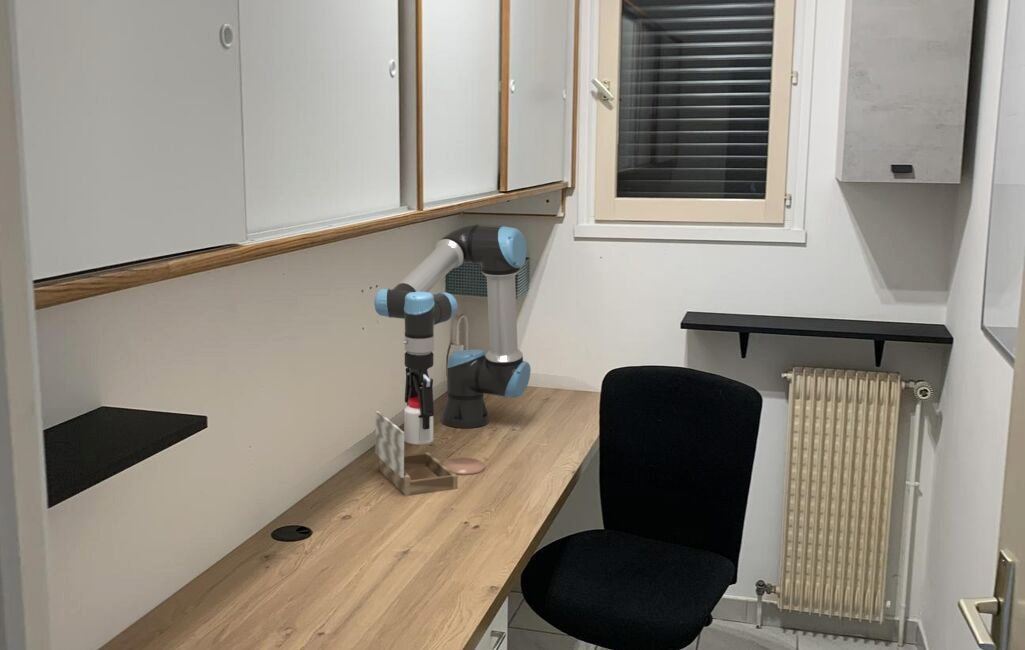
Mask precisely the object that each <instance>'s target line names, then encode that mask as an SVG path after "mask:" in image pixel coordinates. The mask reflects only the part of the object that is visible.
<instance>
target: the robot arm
mask: <svg viewBox="0 0 1025 650" xmlns="http://www.w3.org/2000/svg"><path fill="white" fill-rule="evenodd" d="M527 248H528V246H527V242H526V239H525V237H524V234H523V233H522V232H521V231H520V230H519V229H518V228H515V227H510V226H509V227H508V226H506V225H505V226H504V225H503V226H502V225H485V224H468V225H464V226H461V227H459V228H456V229H454V230H452V231H451V232H449V233H447V234H445V235H444V236H443V237H442V238H440V239H439V240H438V242H436V244H435V246H434V250H433V251H432V252H431V253H430V254H429V255H427V256H426V257H425V258H424V259H423V260H422V261H421V262H420V263H419V264H418V265H417V266H416V267H415V268H414V269H413V270H411V271H410V272H409V273H408V274H407V275H406V276H405V277H404V278H403V279H402V280H400V282H398V283H397V285H396V286H395V287H394V288H393V289H392V288H382V289H379V290H378V291H377V293H376V294H375V296H374V300H373V301H374V309H375V312H376V313H377V314H378V315H379V316H382V317H388V318H390V319H392V318H393V319H394V318H396V319H402V320H404V340H403V342H402V343H403V344H404V351H406V352H404V366H405V367H406V368H405V389H404V403H405V404H406V407H407V406H408V405H409V399H410V398H414V397H418V398H419V405H420V412H421V415H420V416H418V417H419V440H420V441H425V440H430V417H431V416H435V413H434V412H435V410H434V392H433V388H434V387H433V385H434V379H433V378H430V376H429V373H428V372H429V371H428V370H429V369H431V368H433V366H434V356H435V355H434V353H433V352H434V348H435V346H434V345H435V336H434V331H435V330H434V328H435V326H436V325H438V324H441V323H445V322H447V321H449V320H450V319H453V317H455V316H456V315H457V312H458V308H459V307H458V302H457V299H456V298H455V297H454V295H452V293H449V292H438V293H435V294H433V293H431V292H430V291H431V290H432V289H433V288H434V287H435V286H437V284H439V282H441V280H442V279H444V277H445V276H446V275H447V274H449V272H451V271H452V270H453V269H457V268H459V267H460V266H461V265H463V264H476V265H477V264H478V265H480V270H481V273H482V275H484V277H486V288H487V289H486V291H487V292H486V293H487V309H488V310H487V311H488V314H487V315H488V332H489V333H488V334H489V350H488V351H487V352H486V353H485V350H483V349H473V348H472V349H463V350H458V351H455V352H451V354H449V356H448V359H447V360H448V361H447V366H446V368H447V371H446V373H447V380H446V381H447V384H446V385H447V386H446V387H447V388H446V389H447V390H446V391H447V392H446V401H445V403H444V406H443V409H442V412H441V415H440V416H441V417H440V418H441V419H440V420H441V423H442V424H443V425H445V426H448V427H451V428H457V429H459V428H460V429H472V428H473V429H474V428H480V427H484V426H485V425H487V424H488V423H489V413H488V412H489V411H488V410H487V406H486V402H485V399H484V394H487V395H493V396H500V397H504V398H516V399H517V398H520V397H521V396H522V395H523V394H524V393H525V391H526V389H527V387H528V385H529V381H530V378H531V372H532V371H531V364H530V363H529V362H528V361H526V360H524V355H523V352H522V351H521V350H520V349H519V348H518V325H517V324H518V321H517V293H516V292H517V291H516V276H517V274H518V273H519V272H520V270H521V267H523V266H524V265H525V264H526V263H525V262H526V260H527V259H526V256H527V253H528V252H527V251H528V249H527Z"/></svg>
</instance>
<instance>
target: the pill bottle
mask: <svg viewBox="0 0 1025 650" xmlns="http://www.w3.org/2000/svg"><path fill="white" fill-rule="evenodd" d="M403 411H404V412H403V414H404V415H403V419H404V420H403V430H404V431H403V432H404V443H408V444H410V445H426V444H430V443H431V442H433V441H434V432H435V431H434V421H435V420H434V418H435V417H434V416H435V415H434V416H431V417H430V440H425V441H420V440H419V417H418V416H420V415H421V412H420V405H419V398H418V397H414V398H410V399H409V405H408V406H407V405H406V407H405V408H404V410H403Z"/></svg>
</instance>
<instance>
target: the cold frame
mask: <svg viewBox="0 0 1025 650" xmlns="http://www.w3.org/2000/svg"><path fill="white" fill-rule="evenodd" d="M374 450H375V452H374V453H375V455H376V456H377V457H378V458H379V459H378V461H379V472H380V473H381V474H382V475H383V476H384V477H385V478H386V479H388V481H389V482H390V483H391V484H393V485H394V487H395V488H396V489H397V490H399V491H400V492H401V494H403V496H405V497H408V496H415V495H422V494H428V493H429V494H430V493H436V492H443V491H449V490H450V491H451V490H456V489H458V476H459V475H456V474H455V473H454V472H452V471H451V470H450V469H449V468H447V467H446V466H445V465H444V464H443V462H441V461H440V460H439V459H438V458H437V457H435V456H434V455H433V454H432V453H430V452H420V453H411V454H407V455H406V454H405V441H404V431H403V430H402V429H401V428H400V427H399V426H398V425H396V424H395V423H394V422H393V421H391V420H390V419H389V418H388V417H386V415H384V414H383V413H381V412H380V411H379V410H376V411H375V449H374ZM422 467H423V468H424V467H427V468H428V469H429V470H430V471H431V472H432V473H434V474H435V475H436V476H434V477H427V478H420V479H412V480H411V476H410V475H409V474H408V473H407V472H406V471H405V469H406V470H407V469H412V468H413V469H414V468H422Z"/></svg>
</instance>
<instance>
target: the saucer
mask: <svg viewBox="0 0 1025 650" xmlns="http://www.w3.org/2000/svg"><path fill="white" fill-rule="evenodd" d="M442 463H443V464H444V465H445V466H446V467H447V468H449V469H450V470H451V471H452V472H454V473H455V474H456V475H457V476H472V475H477V474H480V473H482V472H483V471H485V469H486V468H485V466H486V465H485V463H484V462H483V461H482V460H479V459H475V458H469V457H454V458H448V459H447V460H444V461H443V462H442Z"/></svg>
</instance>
